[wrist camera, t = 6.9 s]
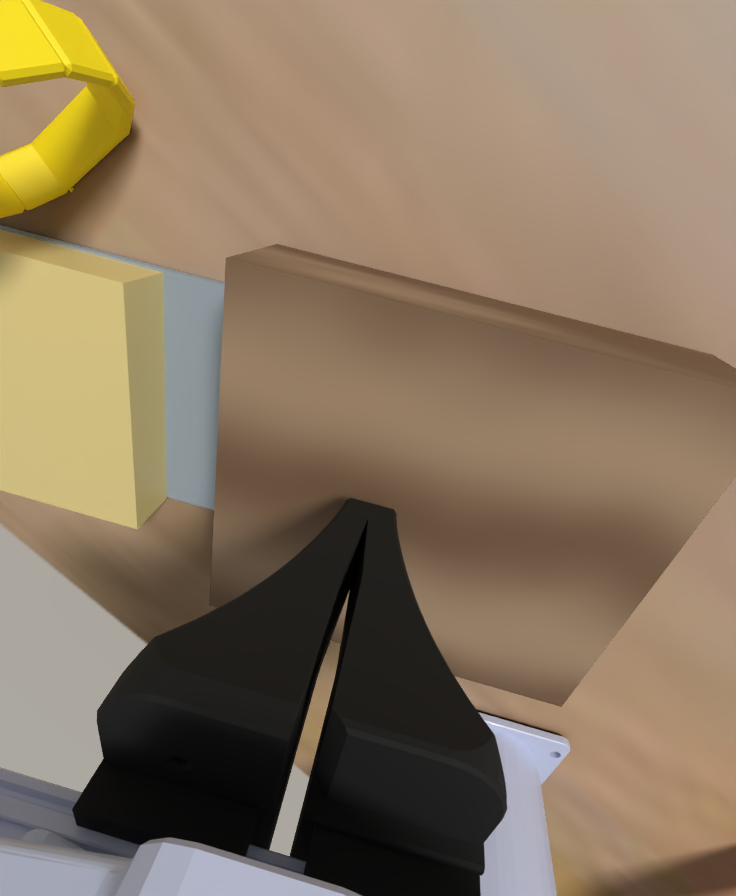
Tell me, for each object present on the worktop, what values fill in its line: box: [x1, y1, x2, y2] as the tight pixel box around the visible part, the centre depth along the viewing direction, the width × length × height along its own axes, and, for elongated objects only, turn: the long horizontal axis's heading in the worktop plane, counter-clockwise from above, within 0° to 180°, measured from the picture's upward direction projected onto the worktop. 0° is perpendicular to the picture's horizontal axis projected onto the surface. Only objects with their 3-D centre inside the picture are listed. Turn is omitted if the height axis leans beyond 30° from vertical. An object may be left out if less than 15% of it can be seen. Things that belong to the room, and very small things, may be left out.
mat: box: [0, 225, 225, 510], centre depth 17 cm, size 9×10×1 cm
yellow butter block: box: [0, 230, 167, 529], centre depth 16 cm, size 9×6×2 cm, turn 168°
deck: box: [210, 244, 736, 707], centre depth 15 cm, size 12×13×4 cm
